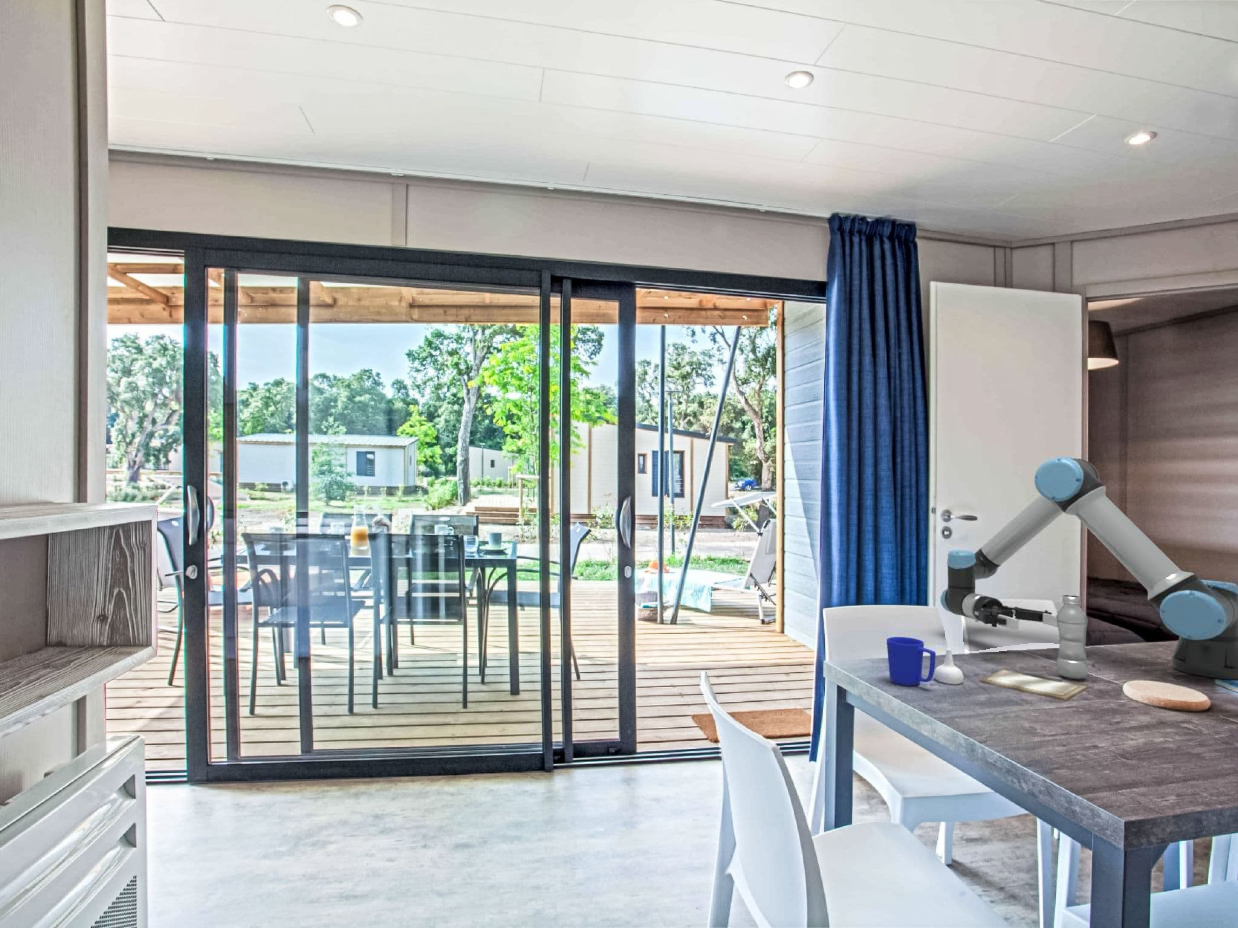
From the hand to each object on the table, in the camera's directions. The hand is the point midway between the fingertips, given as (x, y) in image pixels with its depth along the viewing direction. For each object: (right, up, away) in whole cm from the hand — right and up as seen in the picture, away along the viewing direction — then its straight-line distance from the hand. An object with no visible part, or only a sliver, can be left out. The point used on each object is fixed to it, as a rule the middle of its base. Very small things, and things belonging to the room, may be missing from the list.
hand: (1040, 624), depth 176 cm
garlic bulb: (-30, -11, -13) cm, 34 cm away
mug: (-40, -11, -16) cm, 44 cm away
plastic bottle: (+2, -11, -10) cm, 15 cm away
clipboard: (-12, -11, -16) cm, 22 cm away
